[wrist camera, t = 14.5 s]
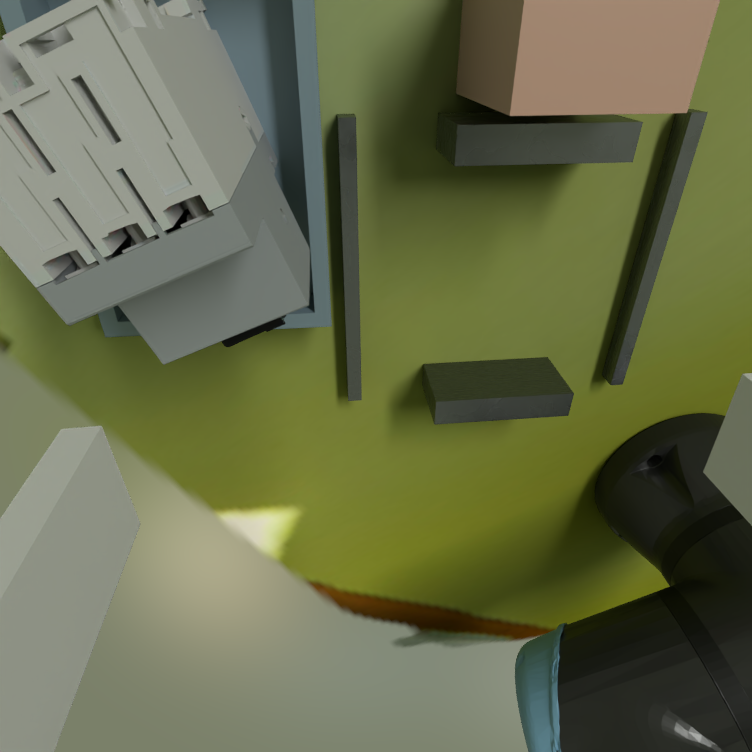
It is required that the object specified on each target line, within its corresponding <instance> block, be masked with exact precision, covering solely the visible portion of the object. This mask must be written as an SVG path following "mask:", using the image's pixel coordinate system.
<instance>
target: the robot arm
mask: <svg viewBox="0 0 752 752" xmlns="http://www.w3.org/2000/svg"><path fill="white" fill-rule="evenodd" d="M595 500H596V504H597V507H598V509H599V511H600V513H601V514H602V516H603V518H604V519H605V521H606V522H607V524H608V526H609V527H610V528H611V530H612V531H613V532H614V533H615V534H616V535H618V536H619V537H620V538H622V539H623V540H624V541H626V542H628V543H629V544H630V545H631V546H632V547H633V548H635V549H636V550H637V551H638V552H639V553H640V554H641V555H642V556H643V557H645V558H646V559H647V560H648V561H649V562H650V563H651V564H653V565H654V566H655V567H656V568H657V569H658V570H659V571H660V572H661V573H662V575H663V576H664V578H665V580H666V581H667V583H668V584H669V586H670V587H668V588H665V589H662V590H660V591H657V592H654V593H652V594H649V595H646V596H644V597H641V598H638V599H636V600H633V601H630V602H628V603H625V604H622V605H619V606H617V607H614V608H611V609H609V610H606V611H603V612H601V613H598V614H595V615H592V616H590V617H587V618H584V619H582V620H579V621H576V622H574V623H571V624H567V623H562V624H560V625H559V626H558V628H557V629H556V630H553V631H551V632H549V633H546V634H544V635H542V636H540V637H537V638H535V639H533V640H530V641H529V642H527V643H526V644H525V645H523V647H522V648H521V649H520V651H519V653H518V656H517V659H516V664H515V684H516V694H517V701H518V707H519V713H520V717H521V723H522V727H523V732H524V736H525V740H526V744H527V748H528V751H529V752H752V373H749V374H742V376H741V379H740V381H739V384H738V386H737V389H736V391H735V394H734V396H733V399H732V401H731V404H730V406H729V409H728V411H727V414H726V416H722V415H717V414H706V413H703V414H691V415H685V416H680V417H676V418H673V419H670V420H667V421H664V422H661V423H659V424H657V425H654V426H652V427H650V428H648V429H647V430H645V431H643V432H641V433H640V434H638V435H636V436H635V437H634V438H632V439H631V440H629V441H628V442H627V443H626V444H624V445H623V446H622V447H621V448H620V449H619V450H618V451H617V452H616V453H615V454H614V455H613V456H612V457H611V458H610V460H609V461H608V462H607V463H606V465H605V466H604V468H603V470H602V472H601V473H600V476H599V478H598V481H597V484H596V488H595ZM139 526H140V521H139V519H138V516H137V513H136V511H135V509H134V506H133V503H132V501H131V498H130V496H129V493H128V491H127V489H126V486H125V483H124V481H123V478H122V476H121V473H120V471H119V468H118V466H117V463H116V461H115V458H114V456H113V453H112V451H111V448H110V446H109V443H108V440H107V438H106V435H105V433H104V430H103V428H102V426H92V427H80V428H67V429H61V430H60V432H59V433H58V435H57V436H56V438H55V439H54V441H53V442H52V443H51V445H50V446H49V448H48V449H47V451H46V452H45V454H44V455H43V457H42V458H41V459H40V461H39V462H38V464H37V465H36V467H35V468H34V470H33V471H32V473H31V474H30V476H29V477H28V479H27V480H26V481H25V483H24V484H23V486H22V487H21V489H20V490H19V492H18V493H17V495H16V496H15V498H14V499H13V500H12V502H11V503H10V505H9V506H8V508H7V509H6V511H5V512H4V514H3V515H2V517H1V518H0V752H54V750H55V748H56V745H57V742H58V740H59V737H60V734H61V732H62V729H63V726H64V724H65V721H66V719H67V716H68V713H69V711H70V708H71V705H72V703H73V700H74V698H75V695H76V692H77V690H78V687H79V684H80V682H81V679H82V676H83V674H84V671H85V669H86V666H87V663H88V660H89V658H90V655H91V653H92V650H93V647H94V645H95V642H96V640H97V637H98V634H99V632H100V629H101V626H102V624H103V621H104V619H105V616H106V613H107V611H108V608H109V605H110V603H111V600H112V597H113V595H114V592H115V590H116V587H117V584H118V582H119V579H120V576H121V574H122V571H123V568H124V566H125V563H126V561H127V558H128V555H129V552H130V550H131V547H132V545H133V542H134V539H135V537H136V534H137V532H138V529H139Z"/></svg>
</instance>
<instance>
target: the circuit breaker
mask: <svg viewBox="0 0 752 752" xmlns="http://www.w3.org/2000/svg"><path fill="white" fill-rule="evenodd" d="M206 10H207V9H206V7H205V5H204V3H203V1H202V0H199V1H198V0H171V1H169V2H167V3H165V4H163V5H161V6H159V7H157V6H156V4H155V2H154V0H71V1H69V2H67V3H65V4H63V5H61V6H59V7H58V8H56V9H54V10H52V11H50V12H48V13H46V14H44V15H42V16H40V17H38V18H36V19H34V20H32V21H30V22H28V23H27V24H25V25H23V26H21V27H19V28H17V29H15V30H13V31H11V32H9V33H7V34H5V35H3V36H2V37H3V38H4V39H2V40H0V246H1V247H2V248H3V249H4V251H5V252H6V253H7V254H8V255H9V257H10V258H11V259H12V260H13V261H14V263H15V264H16V265H17V266H18V267H19V268H20V270H21V271H22V272H23V273H24V274H25V276H26V277H27V278H28V279H29V280H30V282H31V283H32V284H33V285H34V286H35V287H38V288H37V290H38V291H39V292H40V293H41V295H42V296H43V297H44V298H45V299H46V301H47V302H48V303H49V304H50V305H51V306H52V308H53V309H54V310H55V311H56V312H57V314H58V315H59V316H60V317H61V318H62V319H63V321H64V322H65V323H66V324H67V325H72V324H75V323H77V322H79V321H82V320H84V319H86V318H89V317H91V316H93V315H96V314H98V313H100V312H103V311H105V310H107V309H110V308H112V307H114V306H117V305H118V306H119V307H120V308H121V310H122V311H123V312H124V314H125V315H126V316H127V318H128V319H129V320H130V321H131V323H132V324H133V325H134V327H135V328H136V329H137V331H138V332H139V333H140V334H141V336H142V337H143V338H144V340H145V341H146V342H147V344H148V345H149V346H150V348H151V349H152V350H153V351H154V353H155V354H156V355H157V357H158V358H159V359H160V361H161V362H162V363H163V365H164V364H166V363H169V362H171V361H174V360H176V359H179V358H181V357H184V356H186V355H189V354H191V353H193V352H196V351H198V350H201V349H203V348H206V347H208V346H211V345H213V344H216V343H218V342H220V341H222V343H223V344H224V346H226V347H230V346H233V345H235V344H237V343H239V342H241V341H243V340H246V339H248V338H250V337H252V336H255V335H257V334H259V333H262V332H264V331H266V332H268V331H270V330H272V329H275V328H277V327H280V326H282V325H285V321H284V319H283V318H285V317H286V315H287V314H289V313H292V312H294V311H297V310H299V309H301V308H304V307H306V306H309V287H310V249H309V246H308V244H307V242H306V240H305V238H304V236H303V234H302V232H301V230H300V228H299V226H298V224H297V221H296V219H295V217H294V215H293V213H292V211H291V209H290V207H289V205H288V203H287V201H286V199H285V196H284V194H283V192H282V190H281V188H280V186H279V184H278V182H277V180H276V178H275V176H274V174H275V169H274V168H275V167H276V165H277V161H278V160H277V157H276V155H275V153H274V151H273V149H272V147H271V145H270V143H269V140H268V138H267V136H266V134H265V132H264V130H263V128H262V126H261V124H260V121H259V119H258V117H257V115H256V113H255V111H254V109H253V107H252V104H251V102H250V100H249V98H248V96H247V94H246V92H245V90H244V87H243V85H242V83H241V81H240V79H239V77H238V75H237V73H236V71H235V68H234V66H233V64H232V62H231V60H230V58H229V56H228V54H227V51H226V49H225V47H224V45H223V43H222V41H221V39H220V37H219V34H218V32H217V30H211V28H210V26H209V23H208V21H207V19H206V17H205V15H204V13H203V12H204V11H206Z"/></svg>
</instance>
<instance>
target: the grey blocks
mask: <svg viewBox="0 0 752 752" xmlns="http://www.w3.org/2000/svg"><path fill="white" fill-rule="evenodd" d="M707 113H708V112H704V111H699V110H694V109H688V111H687V113H676V115H675V119H674V122H673V126H672V129H671V133H670V136H669V140H668V143H667V147H666V151H665V154H664V158H663V161H662V165H661V168H660V172H659V175H658V179H657V182H656V186H655V189H654V193H653V196H652V200H651V203H650V207H649V210H648V214H647V218H646V221H645V225H644V228H643V232H642V235H641V239H640V242H639V246H638V249H637V253H636V256H635V260H634V263H633V267H632V270H631V274H630V277H629V281H628V285H627V288H626V292H625V295H624V299H623V302H622V306H621V309H620V313H619V316H618V320H617V323H616V327H615V330H614V334H613V337H612V341H611V344H610V348H609V352H608V355H607V359H606V362H605V366H604V369H603V373H602V376H603V377H604V378H605V379H606V380H607V381H608V383H609V384H610V385H620V384H623V381H624V378H625V375H626V371H627V368H628V365H629V362H630V359H631V355H632V352H633V349H634V346H635V343H636V340H637V336H638V333H639V330H640V327H641V324H642V320H643V317H644V314H645V311H646V308H647V304H648V301H649V298H650V295H651V292H652V288H653V285H654V282H655V279H656V276H657V272H658V269H659V266H660V263H661V260H662V256H663V253H664V250H665V247H666V244H667V241H668V237H669V234H670V231H671V228H672V225H673V221H674V218H675V215H676V212H677V209H678V205H679V202H680V199H681V196H682V193H683V189H684V186H685V183H686V180H687V177H688V173H689V170H690V167H691V164H692V161H693V158H694V154H695V151H696V148H697V145H698V142H699V138H700V135H701V132H702V129H703V126H704V122H705V119H706V116H707ZM642 123H643V122H641V121H637V120H633V119H629V118H626V117H622V116H618V115H614V114H598V115H535V116H509V115H506V114H504V113H502V112H458V113H438V125H437V142H436V149H437V150H438V151H439V152H440V153H441V154H442V155H443V156H444V157H445V158H446V159H447V160H448V161H450V162H451V163H452V164H453V165H454V166H482V165H526V164H571V163H615V162H633V159H634V155H635V151H636V147H637V143H638V139H639V135H640V131H641V127H642ZM337 126H338V153H339V179H340V206H341V233H342V259H343V286H344V312H345V339H346V366H347V391H348V401H354V400H361V350H360V299H359V248H358V198H357V147H356V117H355V115H354V114H337ZM422 386H423V389H424V392H425V396H426V399H427V402H428V405H429V408H430V412H431V415H432V418H433V421H434V424H447V423H462V422H477V421H493V420H508V419H524V418H539V417H554V416H568V414H569V410H570V407H571V403H572V399H573V395H574V393H573V392H572V390H571V389H570V387H569V386H568V385H567V383H566V382H565V381H564V379H563V378H562V376H561V375H560V374H559V372H558V371H557V370H556V368H555V367H554V365H553V364H552V363H551V361H550V360H549V359H548V357H545V358H527V359H508V360H490V361H472V362H454V363H436V364H424V365H423V382H422Z"/></svg>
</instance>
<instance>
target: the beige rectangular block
mask: <svg viewBox="0 0 752 752" xmlns="http://www.w3.org/2000/svg"><path fill="white" fill-rule="evenodd" d="M719 2H720V0H463V4H462V18H461V31H460V45H459V59H458V73H457V87H456V94H458V95H461V96H463V97H466V98H468V99H470V100H473V101H475V102H478V103H480V104H482V105H485V106H487V107H490V108H492V109H494V110H497V111H499V112H502V113H504V114H506V115H509V116H535V115H598V114H660V113H687V111H688V107H689V104H690V101H691V97H692V94H693V90H694V87H695V84H696V80H697V77H698V73H699V70H700V67H701V63H702V60H703V56H704V53H705V49H706V46H707V43H708V39H709V36H710V32H711V29H712V26H713V22H714V19H715V15H716V12H717V9H718V5H719Z"/></svg>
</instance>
